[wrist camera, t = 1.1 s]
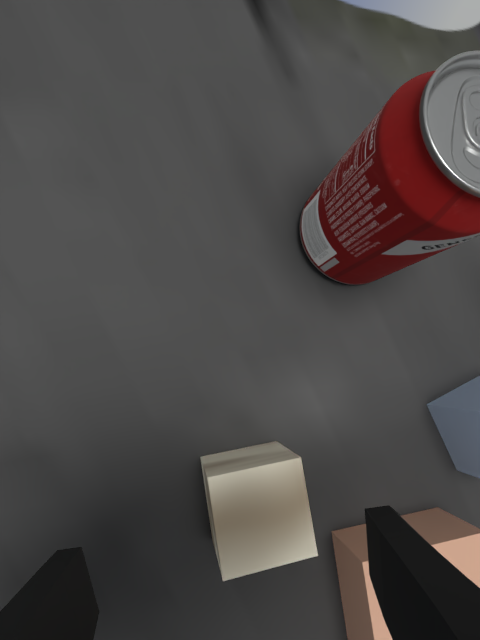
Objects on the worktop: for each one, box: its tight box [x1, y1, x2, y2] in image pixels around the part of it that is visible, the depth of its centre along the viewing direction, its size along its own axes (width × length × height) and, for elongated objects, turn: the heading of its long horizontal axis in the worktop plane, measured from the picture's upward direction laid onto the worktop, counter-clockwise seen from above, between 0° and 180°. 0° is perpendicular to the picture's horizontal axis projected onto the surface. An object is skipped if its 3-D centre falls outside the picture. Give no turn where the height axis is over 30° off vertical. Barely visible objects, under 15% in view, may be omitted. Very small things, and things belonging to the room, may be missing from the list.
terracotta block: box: [331, 507, 480, 640], centre depth 22 cm, size 7×7×4 cm
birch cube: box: [200, 441, 318, 581], centre depth 20 cm, size 4×4×4 cm
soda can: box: [299, 51, 480, 285], centre depth 20 cm, size 7×7×12 cm
